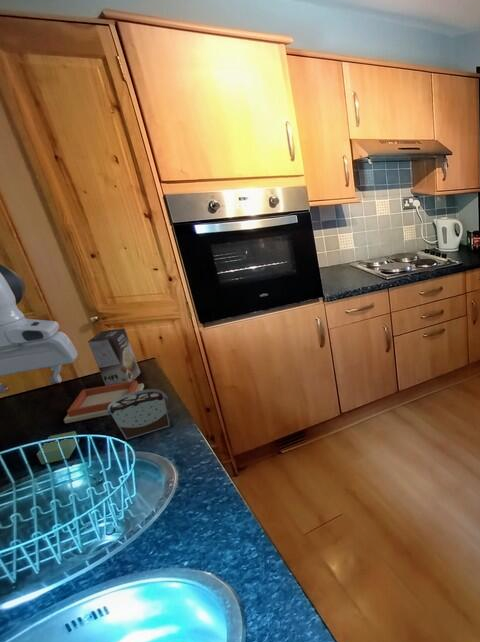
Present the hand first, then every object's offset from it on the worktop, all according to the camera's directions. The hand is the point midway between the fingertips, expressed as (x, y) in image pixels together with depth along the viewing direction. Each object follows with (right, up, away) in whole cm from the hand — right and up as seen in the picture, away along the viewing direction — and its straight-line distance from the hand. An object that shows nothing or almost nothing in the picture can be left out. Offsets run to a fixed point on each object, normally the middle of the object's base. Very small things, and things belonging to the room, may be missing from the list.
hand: (30, 387), depth 106 cm
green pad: (+1, -17, +6) cm, 18 cm away
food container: (+15, -13, +15) cm, 25 cm away
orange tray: (-6, -8, +26) cm, 28 cm away
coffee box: (-11, -2, +39) cm, 41 cm away
